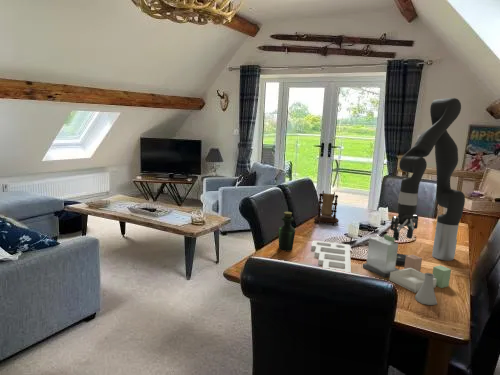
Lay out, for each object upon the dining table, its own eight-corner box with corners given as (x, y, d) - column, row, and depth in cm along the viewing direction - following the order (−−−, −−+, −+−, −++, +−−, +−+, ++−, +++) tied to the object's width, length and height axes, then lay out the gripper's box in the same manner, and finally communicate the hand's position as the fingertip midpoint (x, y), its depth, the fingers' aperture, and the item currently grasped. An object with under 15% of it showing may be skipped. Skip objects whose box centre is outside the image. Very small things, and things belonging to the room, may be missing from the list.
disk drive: (409, 260, 176) (376, 255, 180) (410, 255, 175) (376, 250, 179) (412, 268, 166) (377, 263, 170) (413, 262, 165) (377, 257, 169)
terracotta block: (410, 269, 163) (412, 254, 161) (419, 273, 159) (422, 258, 158) (403, 271, 160) (405, 255, 159) (412, 275, 157) (414, 259, 155)
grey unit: (379, 263, 167) (382, 231, 165) (401, 274, 157) (405, 239, 155) (362, 267, 163) (366, 233, 160) (384, 277, 152) (388, 242, 150)
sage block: (438, 281, 151) (440, 265, 150) (448, 286, 148) (451, 269, 146) (431, 283, 149) (433, 266, 148) (441, 288, 145) (443, 271, 144)
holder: (350, 287, 143) (351, 280, 142) (303, 280, 147) (303, 274, 146) (349, 250, 186) (349, 244, 185) (312, 245, 190) (312, 240, 189)
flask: (430, 296, 137) (434, 270, 136) (441, 306, 130) (445, 279, 129) (411, 296, 137) (414, 270, 135) (420, 305, 130) (424, 278, 128)
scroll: (312, 224, 228) (315, 191, 225) (315, 218, 242) (318, 188, 239) (337, 227, 224) (340, 194, 221) (339, 221, 238) (342, 190, 234)
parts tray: (409, 275, 156) (410, 267, 155) (435, 287, 146) (436, 278, 145) (389, 280, 150) (390, 271, 150) (415, 292, 140) (416, 283, 139)
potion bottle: (295, 247, 183) (297, 211, 180) (292, 252, 176) (295, 215, 172) (278, 245, 185) (281, 209, 182) (275, 250, 178) (278, 213, 175)
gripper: (411, 200, 167) (406, 235, 170) (388, 201, 160) (384, 238, 163) (426, 203, 160) (420, 240, 163) (403, 205, 154) (398, 243, 156)
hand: (402, 239), depth 163 cm, fingers open, 8 cm apart
